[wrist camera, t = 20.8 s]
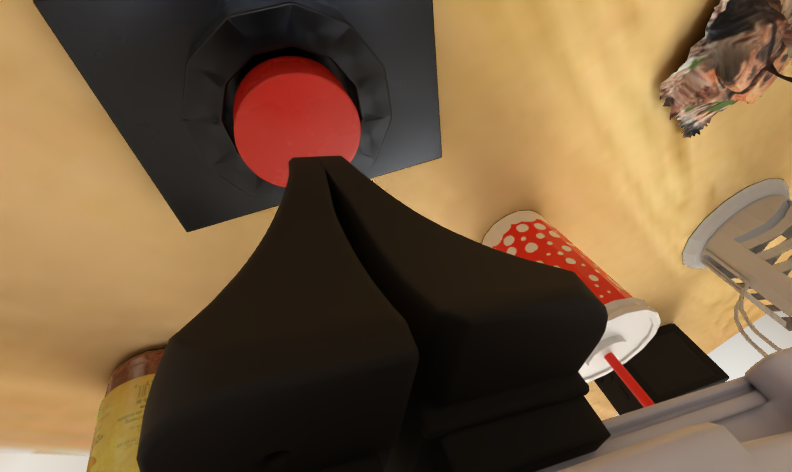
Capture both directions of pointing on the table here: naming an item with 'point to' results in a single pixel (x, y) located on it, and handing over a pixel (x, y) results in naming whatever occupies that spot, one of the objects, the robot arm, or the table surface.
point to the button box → (223, 72)
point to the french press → (749, 250)
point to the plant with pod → (731, 61)
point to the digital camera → (663, 371)
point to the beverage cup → (626, 314)
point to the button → (292, 116)
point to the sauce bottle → (123, 415)
